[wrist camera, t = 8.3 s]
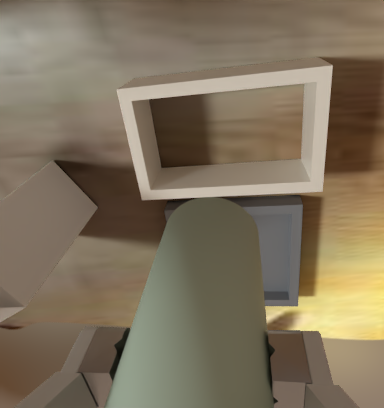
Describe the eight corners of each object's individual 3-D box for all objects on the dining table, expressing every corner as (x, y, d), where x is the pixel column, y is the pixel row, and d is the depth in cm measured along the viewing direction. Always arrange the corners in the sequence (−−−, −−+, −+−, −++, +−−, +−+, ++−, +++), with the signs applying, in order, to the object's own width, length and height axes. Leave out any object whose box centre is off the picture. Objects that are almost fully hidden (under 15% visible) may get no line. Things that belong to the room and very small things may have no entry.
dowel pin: (157, 199, 15) (-34, 642, 4) (257, 194, 14) (311, 716, 4) (172, 273, 17) (68, 686, 7) (259, 272, 16) (296, 737, 6)
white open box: (134, 78, 30) (116, 89, 25) (318, 56, 27) (332, 65, 23) (154, 177, 35) (141, 200, 30) (311, 167, 32) (322, 191, 28)
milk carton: (99, 206, 38) (-8, 355, 21) (60, 233, 40) (-61, 382, 24) (53, 159, 35) (-107, 284, 19) (15, 190, 38) (-154, 324, 22)
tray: (167, 201, 36) (164, 210, 34) (299, 194, 34) (302, 204, 32) (184, 293, 43) (182, 305, 41) (295, 293, 40) (297, 306, 39)
